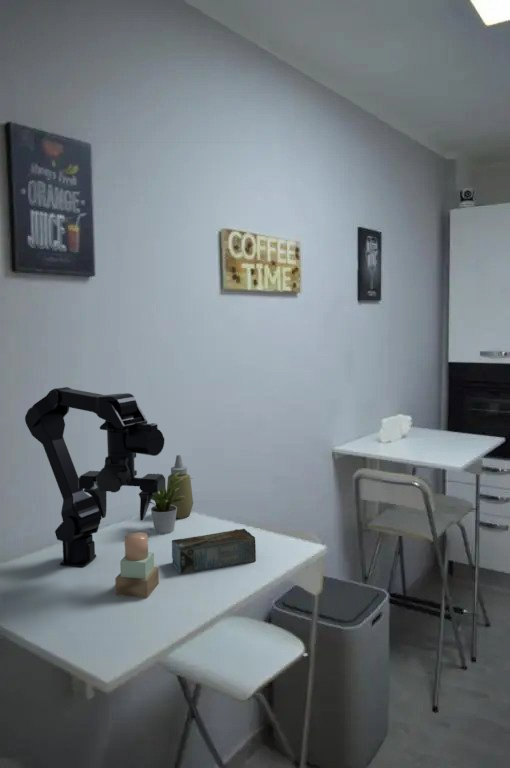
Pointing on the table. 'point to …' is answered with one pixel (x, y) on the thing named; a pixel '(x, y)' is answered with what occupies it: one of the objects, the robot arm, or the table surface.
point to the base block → (137, 585)
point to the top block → (137, 567)
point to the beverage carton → (213, 551)
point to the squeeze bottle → (181, 489)
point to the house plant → (165, 507)
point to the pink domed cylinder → (136, 546)
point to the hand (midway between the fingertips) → (122, 518)
